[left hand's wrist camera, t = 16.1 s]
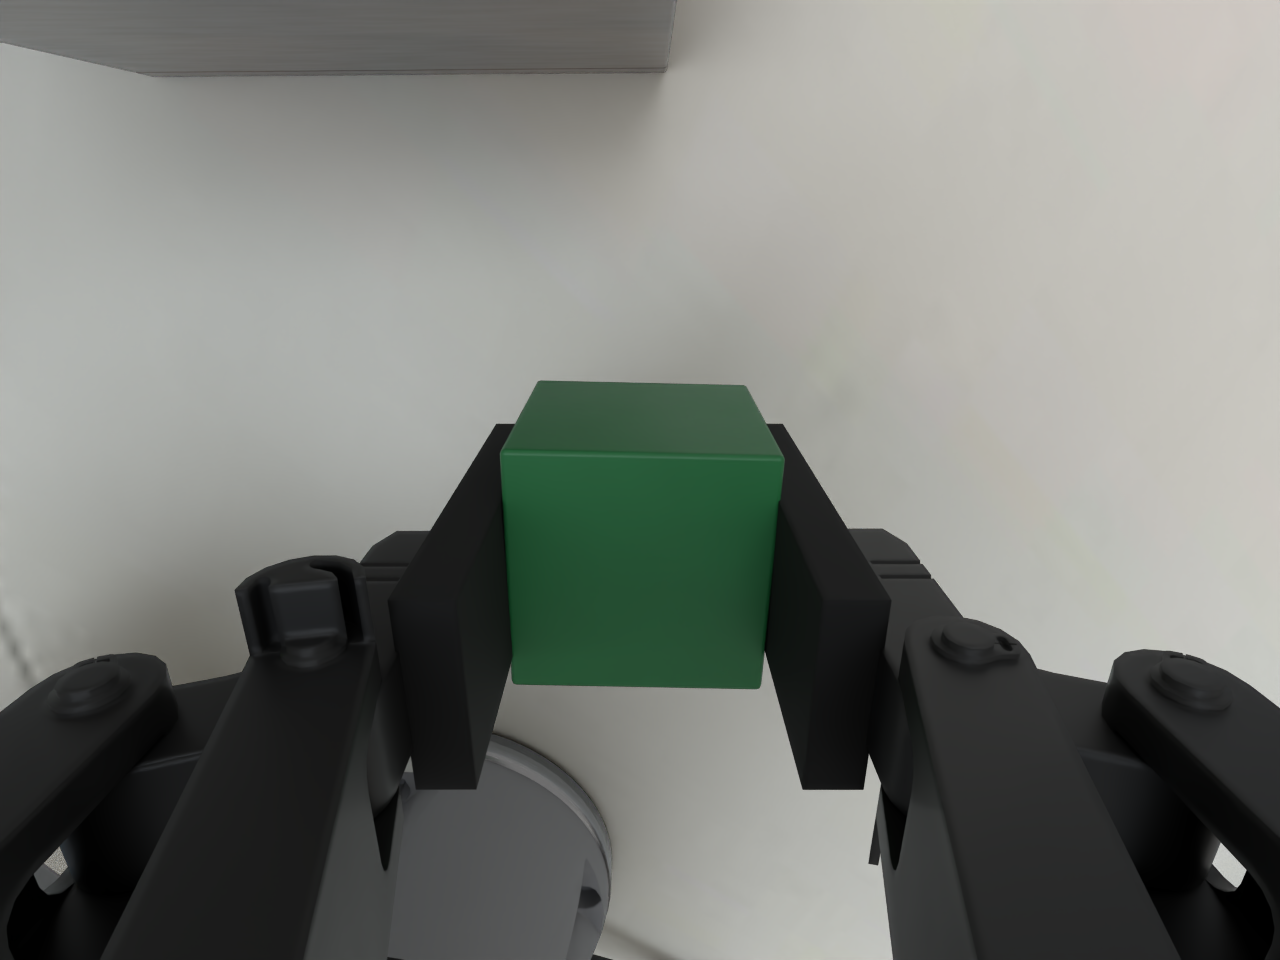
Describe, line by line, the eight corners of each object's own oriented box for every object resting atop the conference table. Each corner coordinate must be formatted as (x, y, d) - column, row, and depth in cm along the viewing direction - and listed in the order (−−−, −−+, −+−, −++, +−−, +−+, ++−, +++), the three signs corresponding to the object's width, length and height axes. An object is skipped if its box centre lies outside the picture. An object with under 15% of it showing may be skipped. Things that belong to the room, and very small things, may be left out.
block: (746, 384, 14) (785, 456, 10) (732, 568, 15) (761, 691, 12) (536, 380, 14) (498, 450, 10) (542, 565, 15) (511, 686, 12)
